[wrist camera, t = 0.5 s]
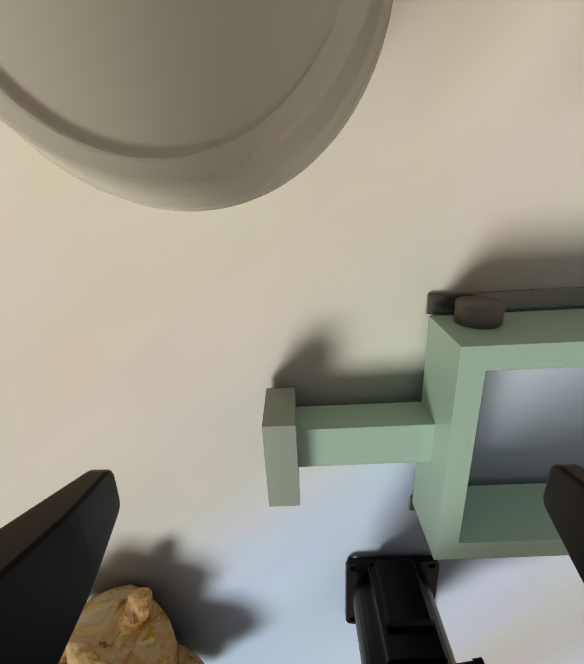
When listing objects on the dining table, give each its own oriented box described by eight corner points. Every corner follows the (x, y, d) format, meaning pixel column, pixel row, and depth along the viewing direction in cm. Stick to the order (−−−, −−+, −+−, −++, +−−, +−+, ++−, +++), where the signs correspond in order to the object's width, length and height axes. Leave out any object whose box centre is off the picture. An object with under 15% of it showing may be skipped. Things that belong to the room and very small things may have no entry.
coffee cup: (319, -59, 15) (412, -840, 3) (348, 176, 18) (445, 167, 7) (109, -8, 15) (-398, -538, 4) (173, 211, 18) (-13, 257, 7)
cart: (627, 505, 25) (687, 563, 21) (277, 519, 25) (275, 578, 21) (708, 284, 19) (809, 309, 15) (259, 305, 19) (252, 334, 16)
